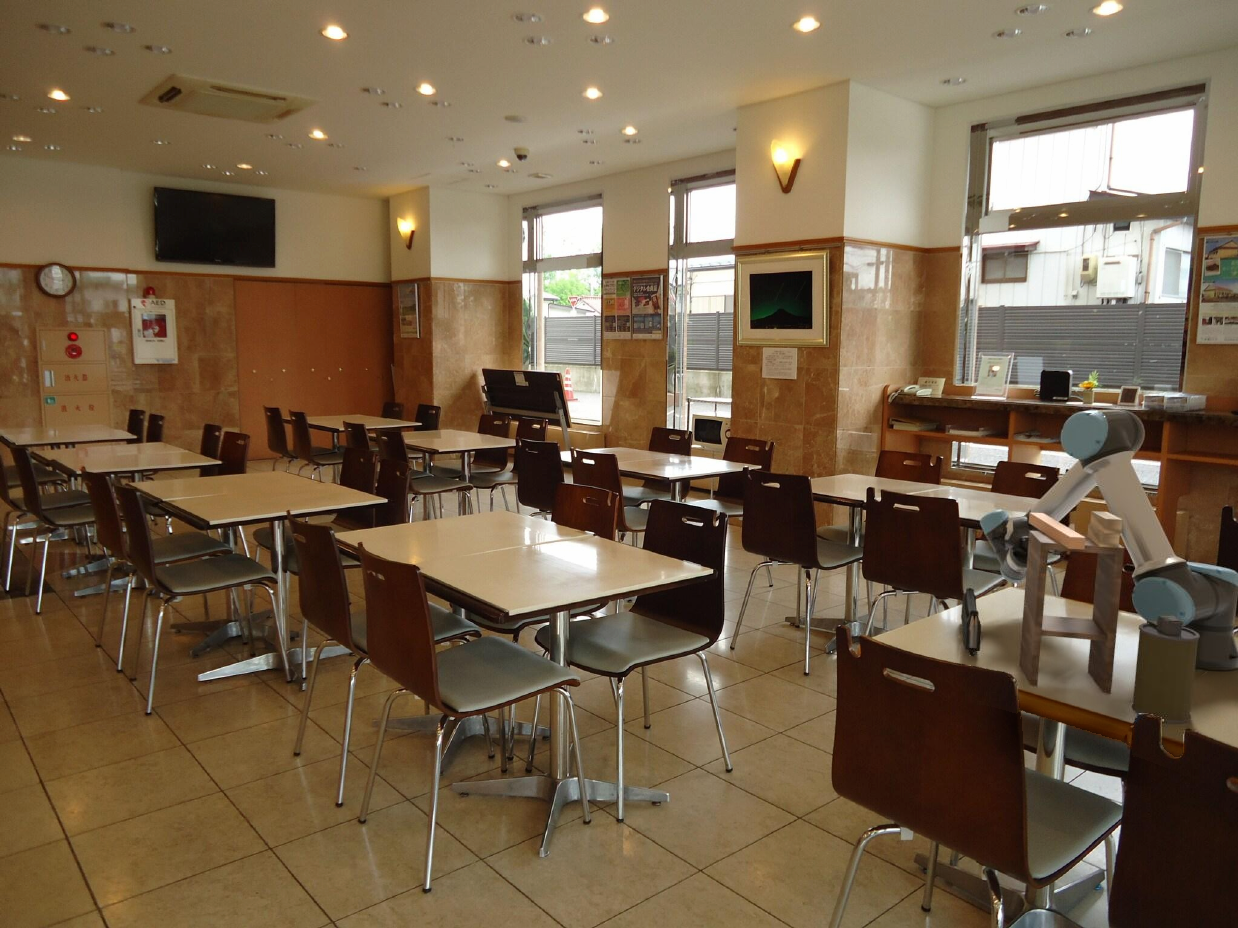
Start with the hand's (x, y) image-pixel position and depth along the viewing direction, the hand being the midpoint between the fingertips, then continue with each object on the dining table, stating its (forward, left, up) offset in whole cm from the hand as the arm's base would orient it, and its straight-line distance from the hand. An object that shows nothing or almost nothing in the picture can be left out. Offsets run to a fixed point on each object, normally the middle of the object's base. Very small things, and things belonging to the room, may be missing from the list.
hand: (1041, 527), depth 212 cm
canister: (-18, +33, -31) cm, 49 cm away
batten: (0, +15, +1) cm, 15 cm away
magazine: (+14, -4, -31) cm, 34 cm away
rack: (-3, +18, -31) cm, 36 cm away
